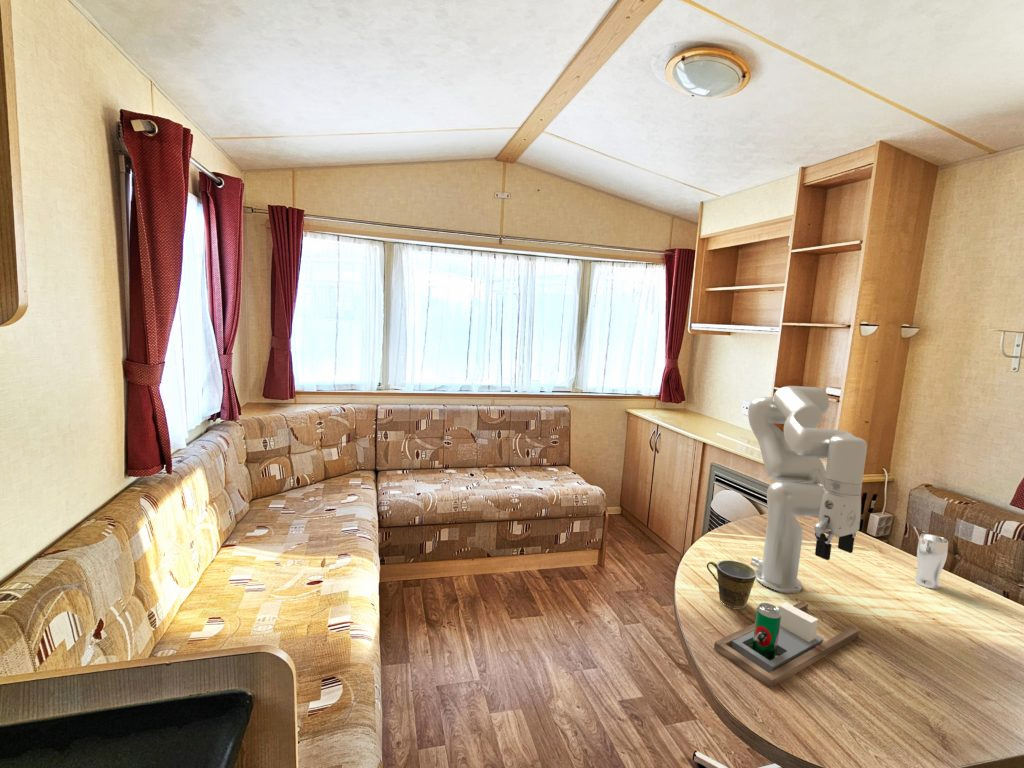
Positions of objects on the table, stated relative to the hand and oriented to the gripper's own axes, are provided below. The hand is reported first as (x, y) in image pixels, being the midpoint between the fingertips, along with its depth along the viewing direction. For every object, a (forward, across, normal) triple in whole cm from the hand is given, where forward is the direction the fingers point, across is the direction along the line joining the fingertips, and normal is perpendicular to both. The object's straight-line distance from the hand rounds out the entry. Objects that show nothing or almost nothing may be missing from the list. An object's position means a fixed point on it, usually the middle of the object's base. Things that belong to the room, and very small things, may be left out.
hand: (833, 554), depth 120 cm
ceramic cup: (+22, -8, +22) cm, 32 cm away
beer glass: (+22, +59, +2) cm, 63 cm away
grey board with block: (+22, -15, +2) cm, 27 cm away
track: (+22, -9, +3) cm, 24 cm away
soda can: (+22, -20, +2) cm, 30 cm away
